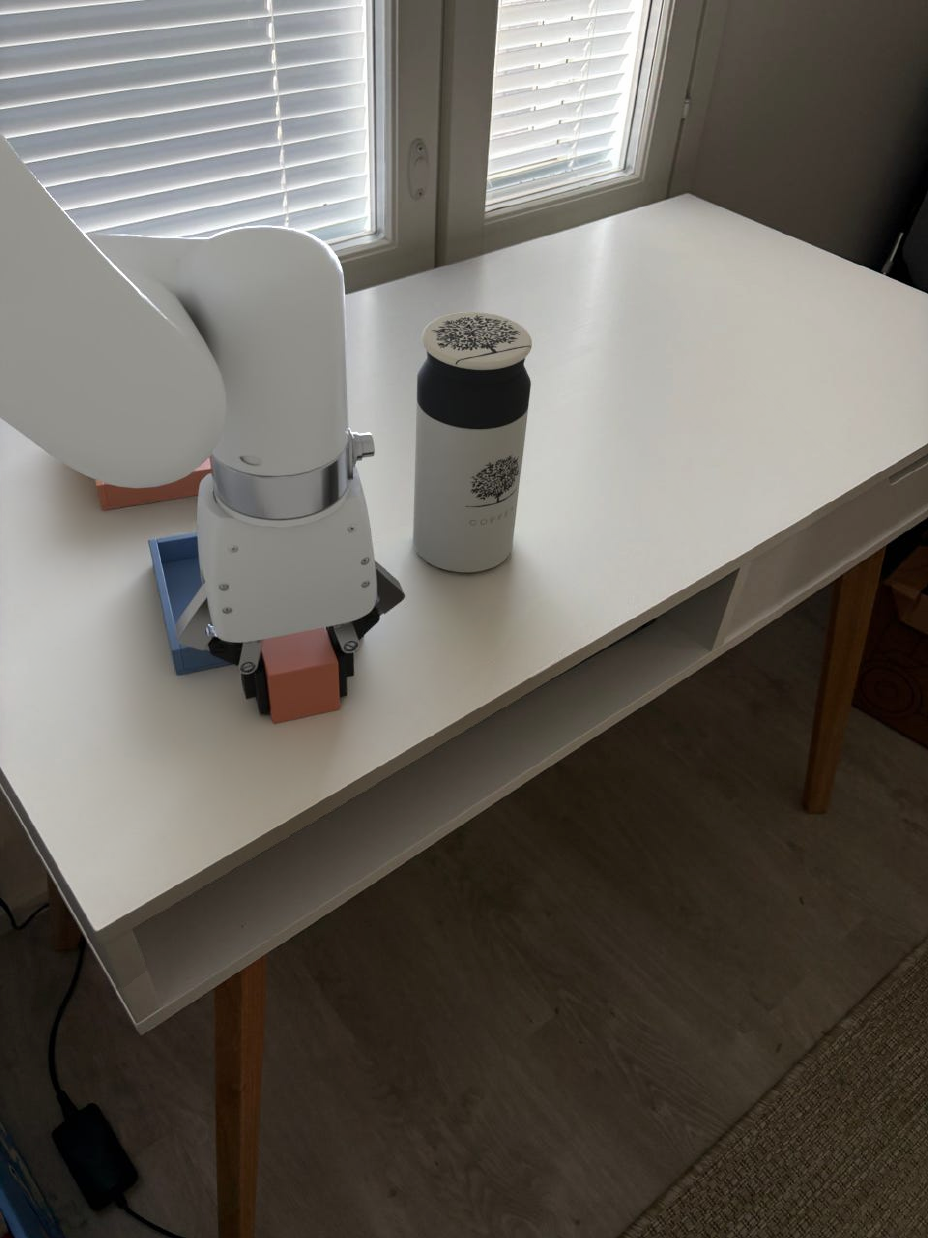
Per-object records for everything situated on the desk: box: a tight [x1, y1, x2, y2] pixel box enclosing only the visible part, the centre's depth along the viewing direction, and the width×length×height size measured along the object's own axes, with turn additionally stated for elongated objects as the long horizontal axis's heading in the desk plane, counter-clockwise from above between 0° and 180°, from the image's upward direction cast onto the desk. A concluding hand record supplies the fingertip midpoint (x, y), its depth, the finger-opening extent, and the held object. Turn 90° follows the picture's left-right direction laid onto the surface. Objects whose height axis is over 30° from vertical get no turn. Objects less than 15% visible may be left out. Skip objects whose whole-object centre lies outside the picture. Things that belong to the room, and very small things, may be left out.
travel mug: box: [412, 311, 533, 573], centre depth 74 cm, size 8×8×18 cm
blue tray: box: [147, 531, 365, 676], centre depth 74 cm, size 13×12×2 cm
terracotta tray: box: [94, 457, 211, 511], centre depth 86 cm, size 13×12×2 cm
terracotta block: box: [260, 627, 341, 724], centre depth 67 cm, size 4×4×4 cm
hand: (299, 688), depth 68 cm, fingers closed on terracotta block, 4 cm apart
